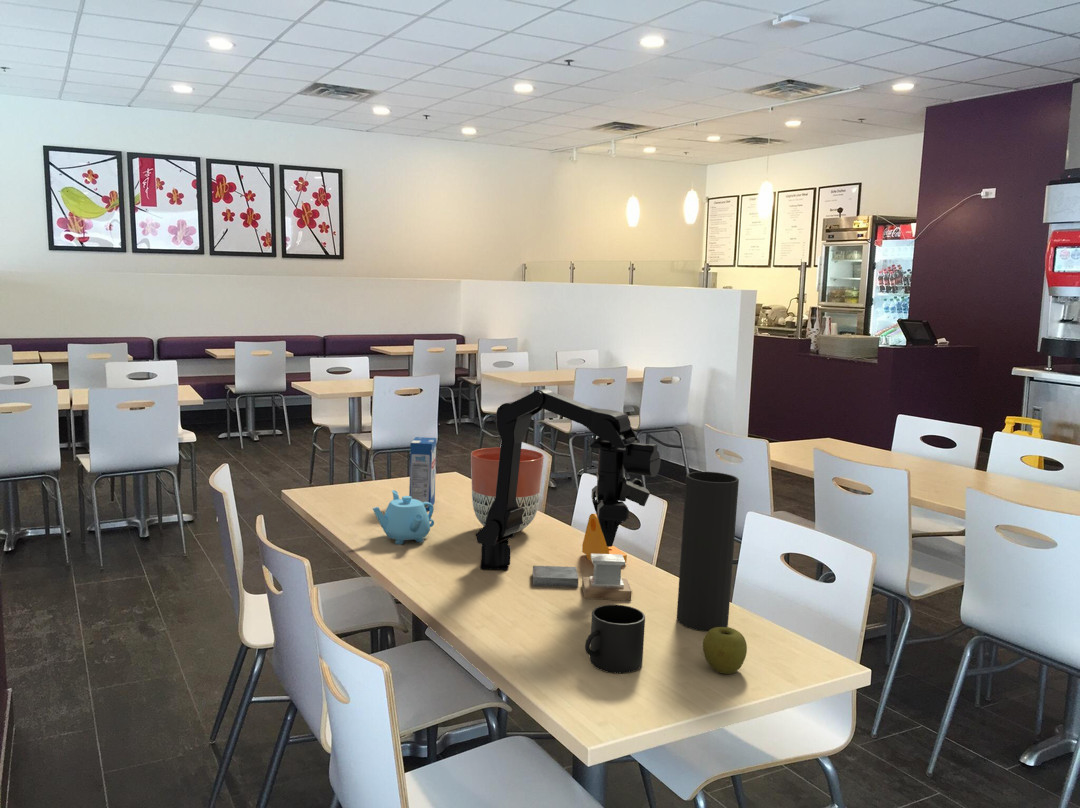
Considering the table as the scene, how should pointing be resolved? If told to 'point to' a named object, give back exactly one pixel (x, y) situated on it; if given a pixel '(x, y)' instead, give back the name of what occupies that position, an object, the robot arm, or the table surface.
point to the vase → (707, 550)
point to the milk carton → (423, 470)
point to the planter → (486, 482)
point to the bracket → (597, 540)
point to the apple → (724, 649)
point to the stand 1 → (555, 576)
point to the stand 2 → (606, 591)
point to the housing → (607, 571)
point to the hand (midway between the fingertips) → (607, 540)
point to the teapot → (405, 519)
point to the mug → (616, 638)
